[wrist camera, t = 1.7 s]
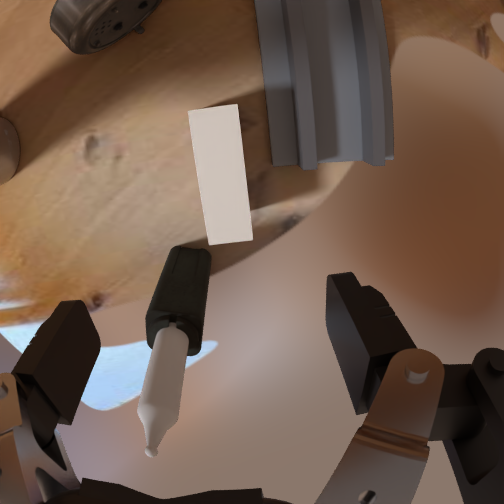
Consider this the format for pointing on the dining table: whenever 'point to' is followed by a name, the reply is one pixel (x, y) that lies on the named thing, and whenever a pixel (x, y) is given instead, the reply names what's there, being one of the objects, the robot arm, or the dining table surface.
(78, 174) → the dining table surface
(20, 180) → the dining table surface
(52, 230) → the dining table surface
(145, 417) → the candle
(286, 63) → the door track
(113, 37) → the alarm clock
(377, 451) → the robot arm
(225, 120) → the white rectangular block
